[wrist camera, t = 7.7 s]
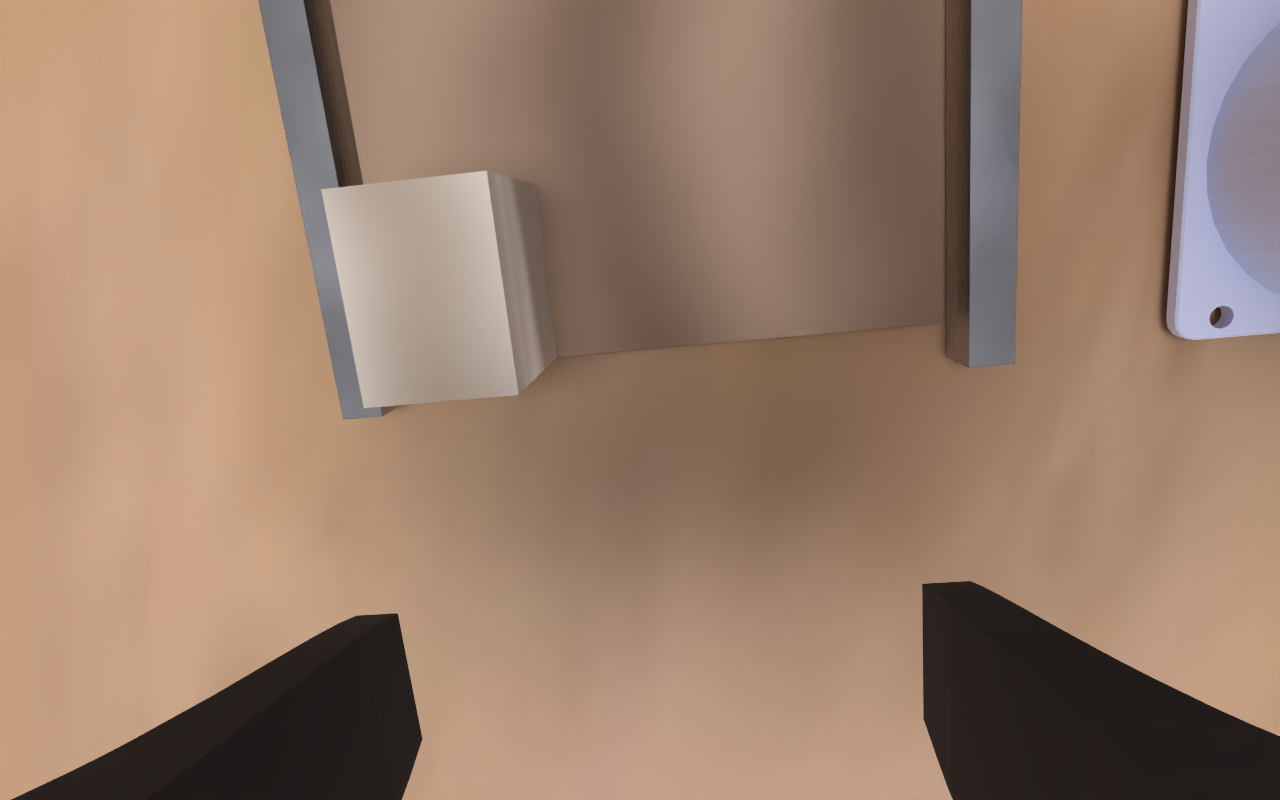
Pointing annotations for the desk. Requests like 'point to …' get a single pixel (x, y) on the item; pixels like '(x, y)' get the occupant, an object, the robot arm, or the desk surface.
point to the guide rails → (974, 170)
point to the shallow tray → (630, 180)
